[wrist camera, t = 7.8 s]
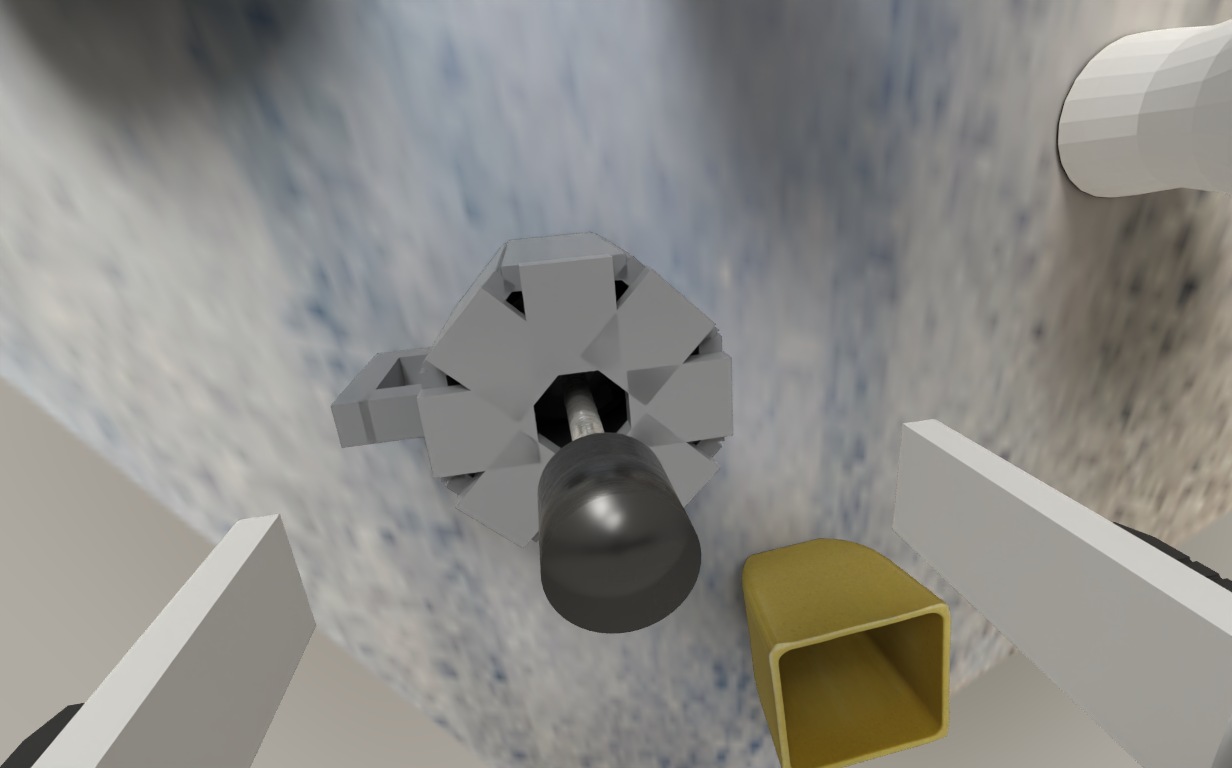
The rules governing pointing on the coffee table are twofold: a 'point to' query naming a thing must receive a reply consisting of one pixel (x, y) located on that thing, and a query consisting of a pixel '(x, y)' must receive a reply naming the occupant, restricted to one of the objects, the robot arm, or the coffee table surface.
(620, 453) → the plunger
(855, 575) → the flower pot
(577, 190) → the coffee table surface
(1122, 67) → the cup
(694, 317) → the press carafe
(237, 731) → the robot arm
